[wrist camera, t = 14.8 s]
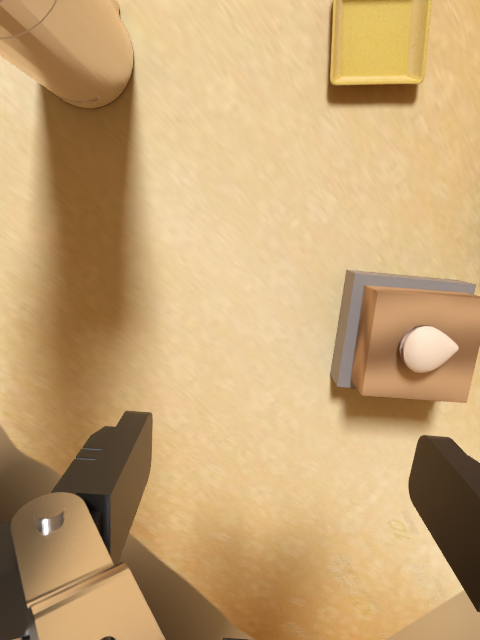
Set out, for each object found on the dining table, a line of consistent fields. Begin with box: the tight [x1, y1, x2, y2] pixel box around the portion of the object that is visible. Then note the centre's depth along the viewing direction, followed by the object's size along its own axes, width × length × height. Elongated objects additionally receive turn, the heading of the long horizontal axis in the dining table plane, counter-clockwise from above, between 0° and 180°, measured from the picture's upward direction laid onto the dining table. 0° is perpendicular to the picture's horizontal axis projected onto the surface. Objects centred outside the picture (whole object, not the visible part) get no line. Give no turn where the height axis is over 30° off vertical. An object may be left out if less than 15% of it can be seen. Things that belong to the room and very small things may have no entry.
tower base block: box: [330, 270, 476, 388], centre depth 41 cm, size 12×12×4 cm
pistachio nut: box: [400, 325, 459, 373], centre depth 34 cm, size 4×5×2 cm
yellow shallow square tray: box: [330, 0, 431, 86], centre depth 35 cm, size 9×9×2 cm
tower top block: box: [350, 285, 480, 403], centre depth 37 cm, size 10×10×4 cm
